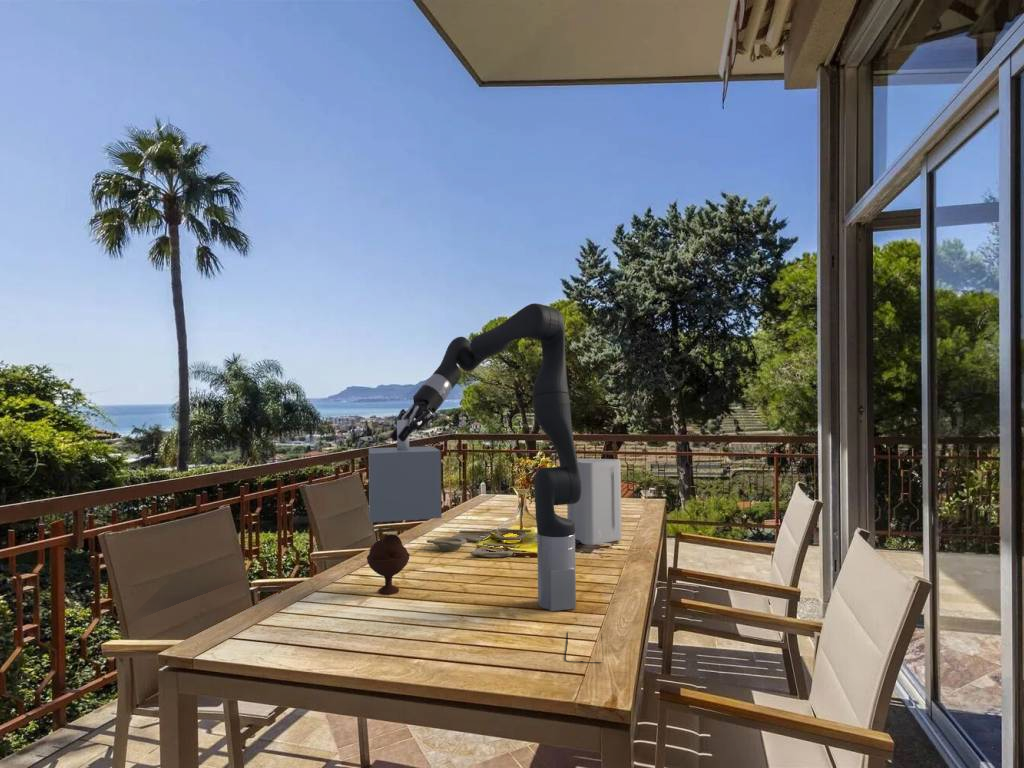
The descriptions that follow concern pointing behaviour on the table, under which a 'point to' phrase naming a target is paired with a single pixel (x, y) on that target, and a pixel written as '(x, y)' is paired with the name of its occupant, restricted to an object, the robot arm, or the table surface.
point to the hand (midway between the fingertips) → (396, 438)
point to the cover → (404, 481)
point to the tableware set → (464, 536)
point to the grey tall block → (598, 502)
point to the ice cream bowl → (388, 561)
